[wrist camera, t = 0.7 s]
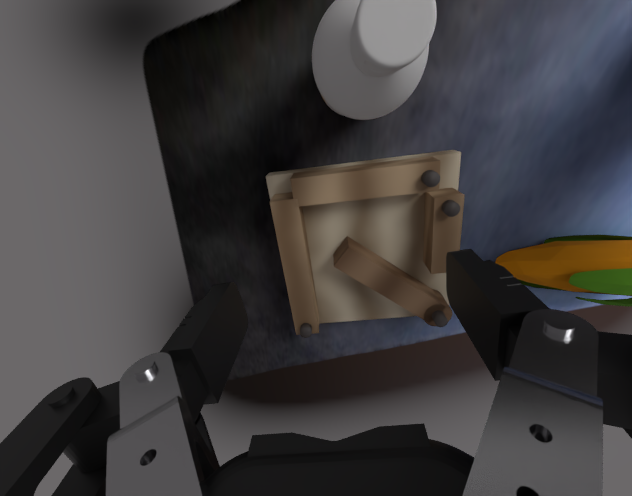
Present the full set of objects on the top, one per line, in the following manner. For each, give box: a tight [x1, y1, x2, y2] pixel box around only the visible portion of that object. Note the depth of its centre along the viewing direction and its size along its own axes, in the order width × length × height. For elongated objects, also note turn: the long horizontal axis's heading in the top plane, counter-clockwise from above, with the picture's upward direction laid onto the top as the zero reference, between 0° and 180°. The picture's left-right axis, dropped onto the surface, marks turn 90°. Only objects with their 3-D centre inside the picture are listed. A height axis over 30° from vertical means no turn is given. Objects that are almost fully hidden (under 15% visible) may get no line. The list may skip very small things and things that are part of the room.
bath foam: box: [312, 0, 436, 120], centre depth 19 cm, size 7×7×20 cm
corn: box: [495, 235, 632, 306], centre depth 32 cm, size 7×8×20 cm
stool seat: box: [266, 150, 464, 338], centre depth 33 cm, size 20×20×6 cm
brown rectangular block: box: [333, 236, 452, 327], centre depth 33 cm, size 15×3×4 cm, turn 57°
